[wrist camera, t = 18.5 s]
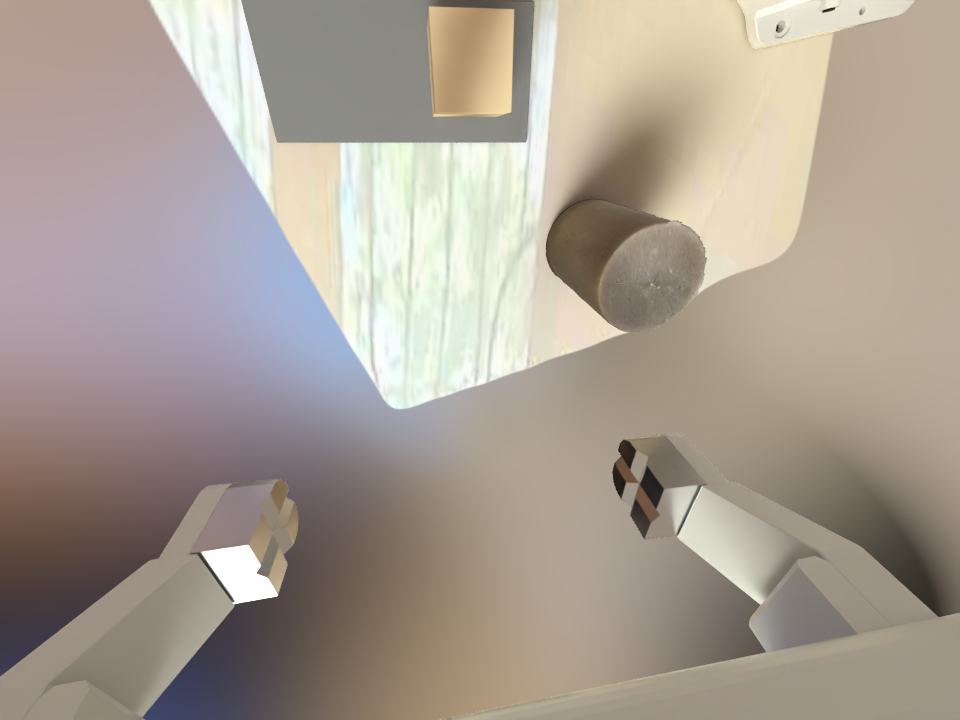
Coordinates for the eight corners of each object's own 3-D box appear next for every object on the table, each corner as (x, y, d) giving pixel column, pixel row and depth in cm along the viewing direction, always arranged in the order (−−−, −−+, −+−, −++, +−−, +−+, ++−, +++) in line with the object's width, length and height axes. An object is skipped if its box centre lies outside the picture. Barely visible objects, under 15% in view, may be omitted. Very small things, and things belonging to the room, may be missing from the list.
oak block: (428, 6, 25) (427, 29, 30) (435, 112, 28) (432, 117, 33) (514, 9, 25) (497, 31, 30) (511, 112, 28) (497, 116, 34)
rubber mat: (533, 3, 30) (534, 1, 30) (525, 142, 35) (526, 142, 35) (239, -12, 27) (238, -13, 27) (278, 142, 32) (277, 142, 32)
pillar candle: (541, 284, 43) (594, 344, 31) (551, 196, 38) (619, 224, 26) (615, 282, 45) (695, 337, 32) (635, 197, 40) (739, 224, 27)
